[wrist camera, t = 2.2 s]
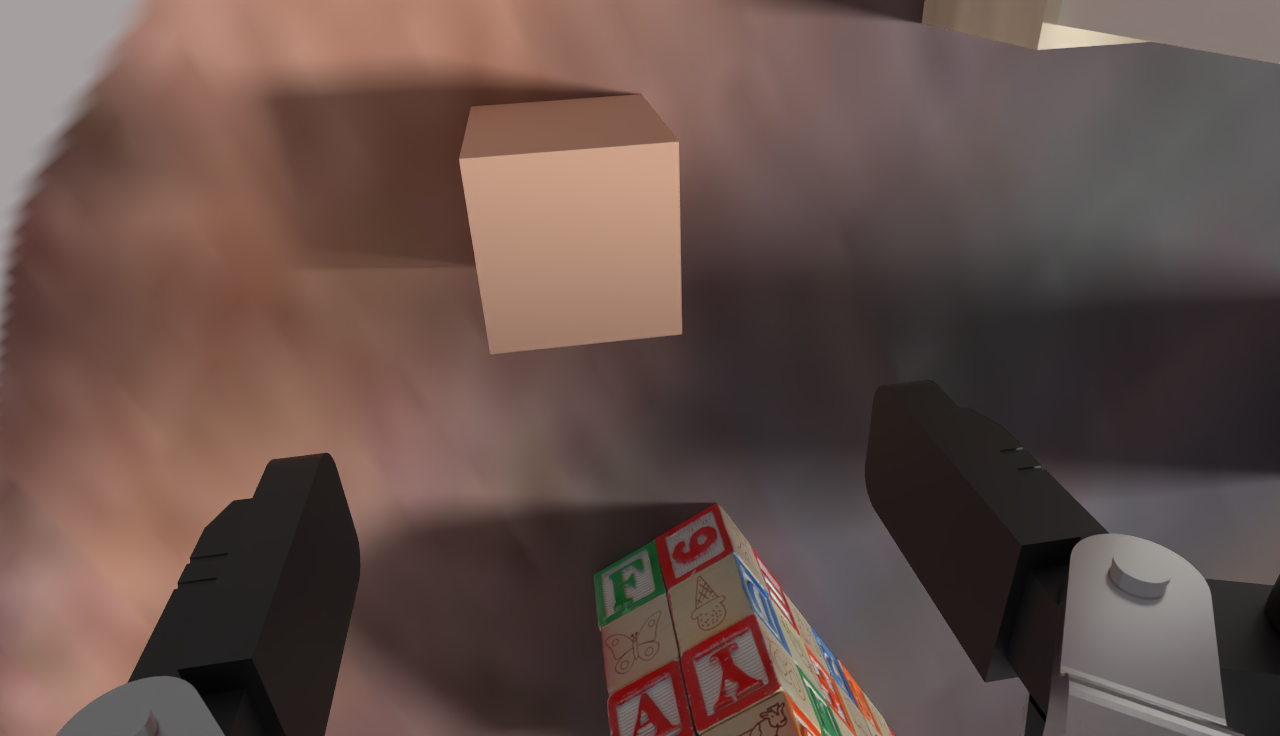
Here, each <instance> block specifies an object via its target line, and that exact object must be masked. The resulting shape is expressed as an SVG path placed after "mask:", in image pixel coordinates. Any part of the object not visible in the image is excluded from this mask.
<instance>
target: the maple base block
mask: <svg viewBox="0 0 1280 736" xmlns="http://www.w3.org/2000/svg"><path fill="white" fill-rule="evenodd" d="M1061 2H1062V0H925V2H924V10H923V18H922V24H926V25H931V26H935V27H939V28H944V29H948V30H952V31H957V32H961V33H965V34H970V35H974V36H979V37H983V38H987V39H992V40H996V41H1000V42H1005V43H1009V44H1013V45H1018V46H1022V47H1027V48H1031V49H1035V50H1044V49H1057V48H1071V47H1085V46H1099V45H1112V44H1126V43H1140V42H1151V41H1146V40H1140V39H1134V38H1129V37H1123V36H1117V35H1112V34H1106V33H1100V32H1094V31H1089V30H1083V29H1077V28H1072V27H1066V26H1060V25H1057V21H1058V16H1059V11H1060V7H1061Z"/></svg>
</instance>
